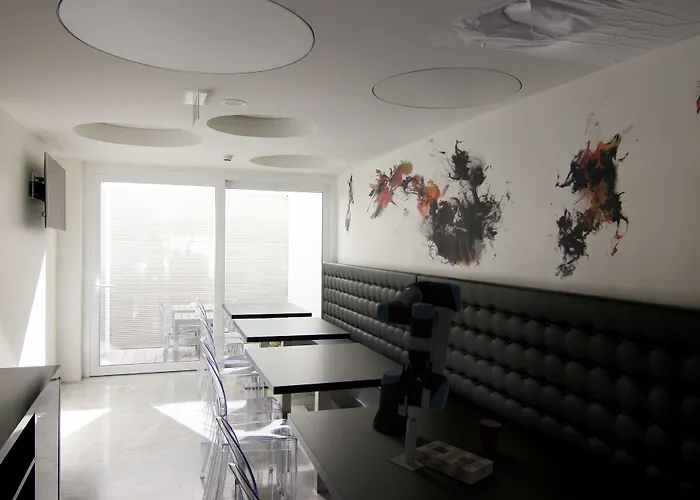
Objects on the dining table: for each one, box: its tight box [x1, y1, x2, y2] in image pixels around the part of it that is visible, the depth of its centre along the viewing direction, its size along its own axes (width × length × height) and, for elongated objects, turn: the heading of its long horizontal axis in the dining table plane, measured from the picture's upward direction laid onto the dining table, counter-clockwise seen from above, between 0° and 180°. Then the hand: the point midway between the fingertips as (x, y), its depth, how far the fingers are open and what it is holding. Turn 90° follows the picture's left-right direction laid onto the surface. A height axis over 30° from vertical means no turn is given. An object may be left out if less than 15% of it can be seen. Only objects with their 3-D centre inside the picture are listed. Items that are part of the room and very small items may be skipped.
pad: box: [387, 453, 427, 473], centre depth 170 cm, size 10×10×1 cm
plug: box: [403, 416, 419, 464], centre depth 170 cm, size 4×4×15 cm
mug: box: [477, 418, 502, 453], centre depth 187 cm, size 10×8×10 cm
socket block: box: [415, 439, 494, 486], centre depth 170 cm, size 22×14×4 cm, turn 47°
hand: (413, 411), depth 170 cm, fingers open, 13 cm apart
